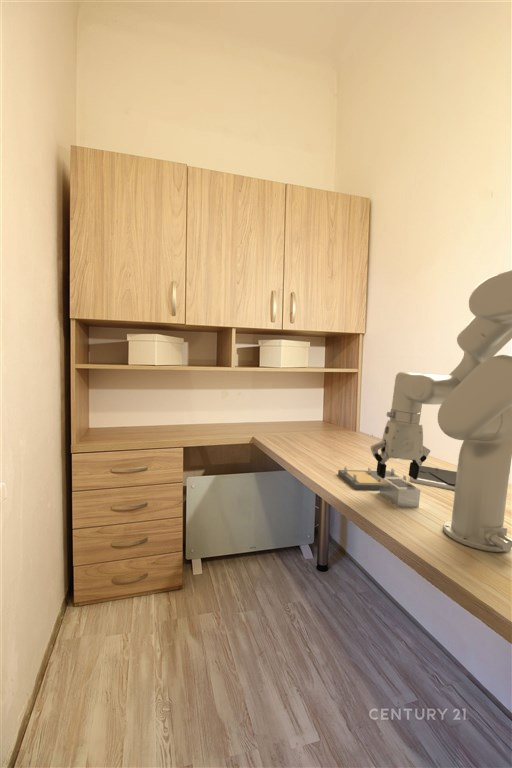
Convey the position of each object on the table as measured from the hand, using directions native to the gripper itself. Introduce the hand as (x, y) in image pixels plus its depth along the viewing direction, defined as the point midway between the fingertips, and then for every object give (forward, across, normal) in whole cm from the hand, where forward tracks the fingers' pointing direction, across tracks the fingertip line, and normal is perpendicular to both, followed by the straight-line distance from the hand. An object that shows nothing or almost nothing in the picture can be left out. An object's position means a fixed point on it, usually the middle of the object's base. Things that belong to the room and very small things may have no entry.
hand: (396, 477), depth 98 cm
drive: (+6, 0, -1) cm, 6 cm away
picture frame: (+7, +26, +18) cm, 32 cm away
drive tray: (+7, 0, +13) cm, 14 cm away
